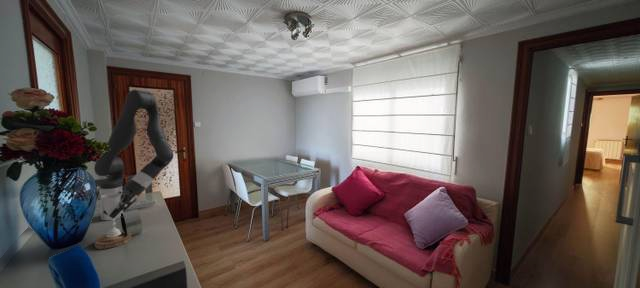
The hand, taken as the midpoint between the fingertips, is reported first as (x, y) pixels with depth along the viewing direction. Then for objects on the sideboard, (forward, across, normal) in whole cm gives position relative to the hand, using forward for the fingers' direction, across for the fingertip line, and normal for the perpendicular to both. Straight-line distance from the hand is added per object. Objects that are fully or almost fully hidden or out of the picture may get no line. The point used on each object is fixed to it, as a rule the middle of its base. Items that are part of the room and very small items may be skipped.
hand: (108, 215), depth 102 cm
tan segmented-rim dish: (+8, 0, +10) cm, 13 cm away
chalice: (+6, 0, +8) cm, 10 cm away
